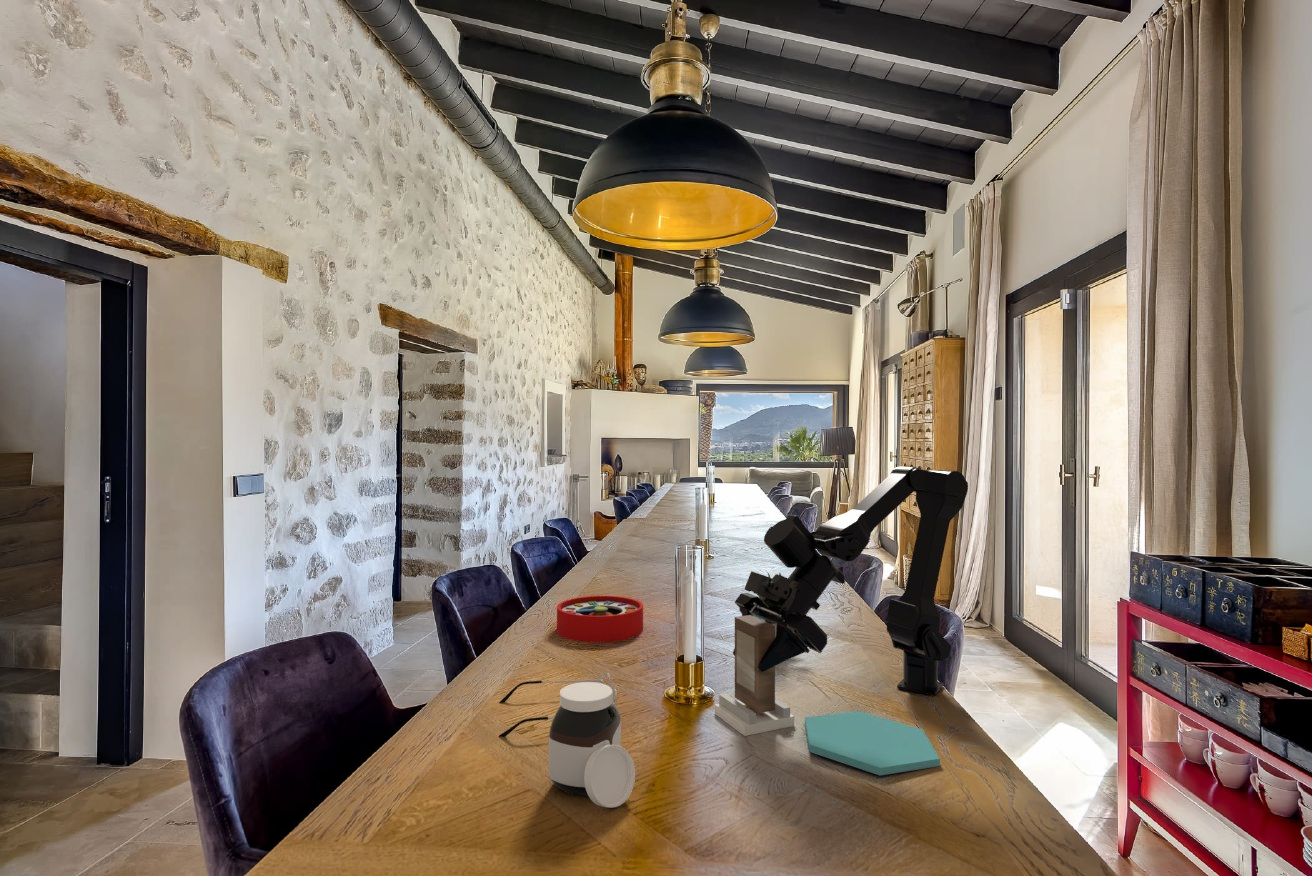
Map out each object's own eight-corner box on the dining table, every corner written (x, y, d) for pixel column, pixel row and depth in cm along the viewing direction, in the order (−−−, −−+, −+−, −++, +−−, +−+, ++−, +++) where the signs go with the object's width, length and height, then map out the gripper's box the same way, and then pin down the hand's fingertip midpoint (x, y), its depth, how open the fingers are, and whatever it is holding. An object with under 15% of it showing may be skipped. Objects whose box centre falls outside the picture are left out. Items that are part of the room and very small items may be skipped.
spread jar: (577, 759, 94) (578, 674, 94) (653, 774, 90) (654, 686, 90) (530, 802, 83) (531, 706, 83) (615, 822, 78) (616, 721, 78)
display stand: (762, 705, 113) (762, 687, 113) (794, 725, 105) (794, 706, 105) (714, 713, 110) (714, 695, 110) (744, 736, 101) (744, 715, 101)
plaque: (883, 720, 110) (776, 733, 103) (884, 708, 110) (776, 720, 103) (968, 768, 94) (847, 787, 87) (968, 753, 94) (847, 771, 87)
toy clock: (655, 612, 152) (566, 619, 145) (654, 638, 152) (566, 647, 145) (629, 593, 171) (549, 598, 164) (628, 616, 171) (549, 623, 164)
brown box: (750, 694, 111) (750, 614, 111) (775, 710, 105) (775, 625, 105) (733, 697, 110) (733, 617, 110) (757, 713, 103) (757, 628, 103)
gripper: (744, 545, 117) (687, 616, 113) (811, 563, 100) (747, 647, 96) (782, 587, 121) (728, 657, 116) (853, 611, 104) (793, 694, 99)
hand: (746, 662), depth 107 cm, fingers closed on brown box, 7 cm apart
